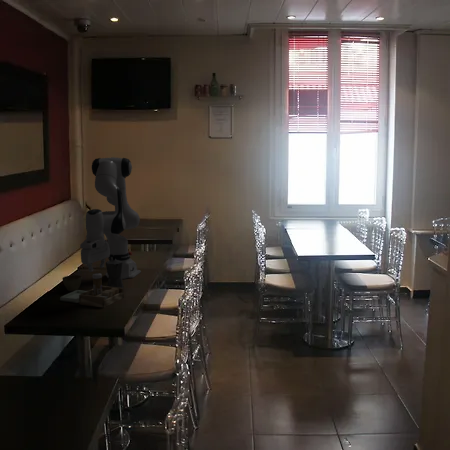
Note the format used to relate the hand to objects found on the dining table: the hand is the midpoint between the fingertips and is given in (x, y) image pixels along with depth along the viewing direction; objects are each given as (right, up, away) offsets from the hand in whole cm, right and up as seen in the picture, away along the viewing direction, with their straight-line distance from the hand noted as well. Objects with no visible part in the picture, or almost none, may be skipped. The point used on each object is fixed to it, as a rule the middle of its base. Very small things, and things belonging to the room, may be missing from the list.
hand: (96, 269), depth 278 cm
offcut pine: (+6, -16, -1) cm, 17 cm away
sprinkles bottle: (0, -16, +3) cm, 16 cm away
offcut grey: (+4, -17, -5) cm, 18 cm away
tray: (-12, -15, +6) cm, 20 cm away
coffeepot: (+4, -13, +23) cm, 27 cm away
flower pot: (-18, -13, +21) cm, 31 cm away
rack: (+2, -16, +1) cm, 16 cm away
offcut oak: (+8, -15, +4) cm, 18 cm away
